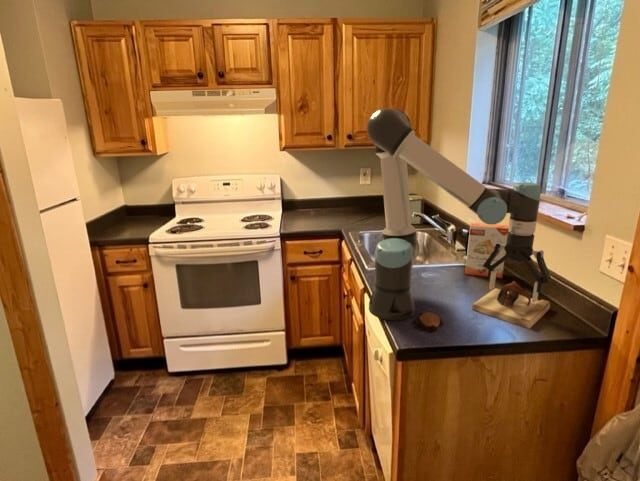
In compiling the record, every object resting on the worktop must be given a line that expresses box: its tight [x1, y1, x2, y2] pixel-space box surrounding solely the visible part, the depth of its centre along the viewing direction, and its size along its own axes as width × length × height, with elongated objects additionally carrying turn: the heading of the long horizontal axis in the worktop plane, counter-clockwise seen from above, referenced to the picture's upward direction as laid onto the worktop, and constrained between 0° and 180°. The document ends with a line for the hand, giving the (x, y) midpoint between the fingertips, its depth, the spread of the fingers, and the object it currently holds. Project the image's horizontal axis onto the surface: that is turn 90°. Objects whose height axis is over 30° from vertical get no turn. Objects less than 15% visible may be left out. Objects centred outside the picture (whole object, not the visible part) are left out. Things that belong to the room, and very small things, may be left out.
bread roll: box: [412, 312, 444, 335], centre depth 122 cm, size 11×8×4 cm
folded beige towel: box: [471, 288, 551, 329], centre depth 130 cm, size 18×18×3 cm
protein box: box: [409, 194, 425, 225], centre depth 244 cm, size 10×15×16 cm
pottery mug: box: [497, 280, 533, 306], centre depth 128 cm, size 12×10×8 cm
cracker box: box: [464, 222, 509, 279], centre depth 157 cm, size 14×6×21 cm, turn 70°
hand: (512, 294), depth 129 cm, fingers open, 13 cm apart
